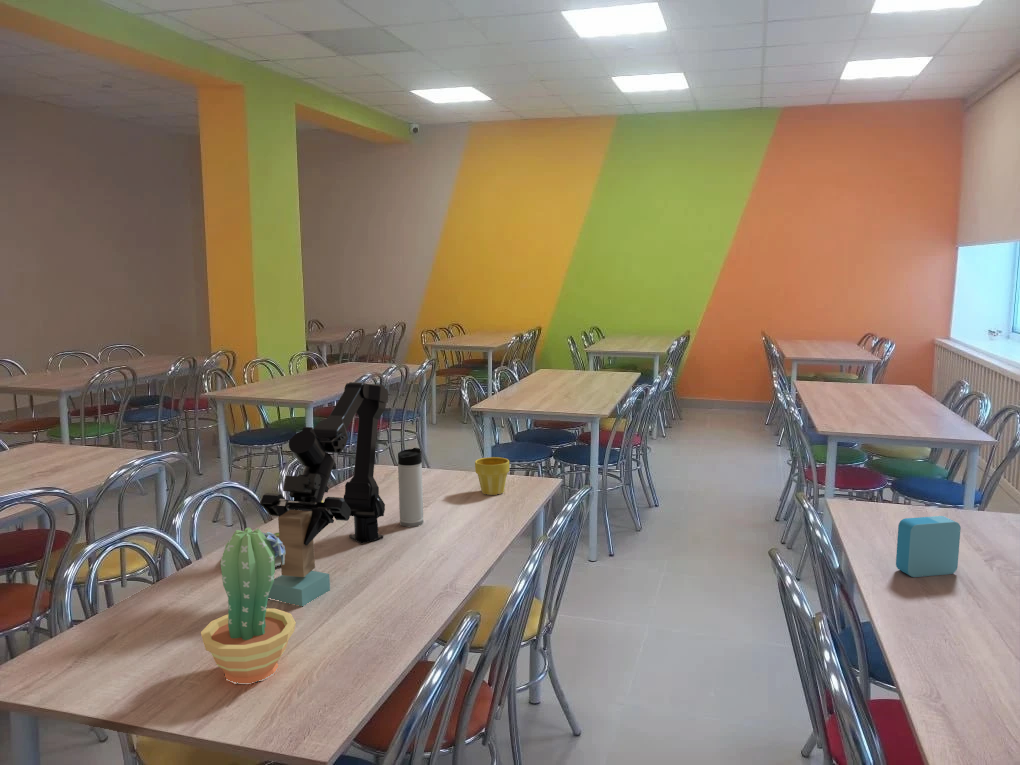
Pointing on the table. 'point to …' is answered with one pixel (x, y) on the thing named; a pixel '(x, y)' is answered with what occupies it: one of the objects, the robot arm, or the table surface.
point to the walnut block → (296, 543)
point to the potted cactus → (249, 610)
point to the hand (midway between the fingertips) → (293, 543)
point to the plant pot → (492, 474)
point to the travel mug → (410, 487)
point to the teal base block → (300, 588)
